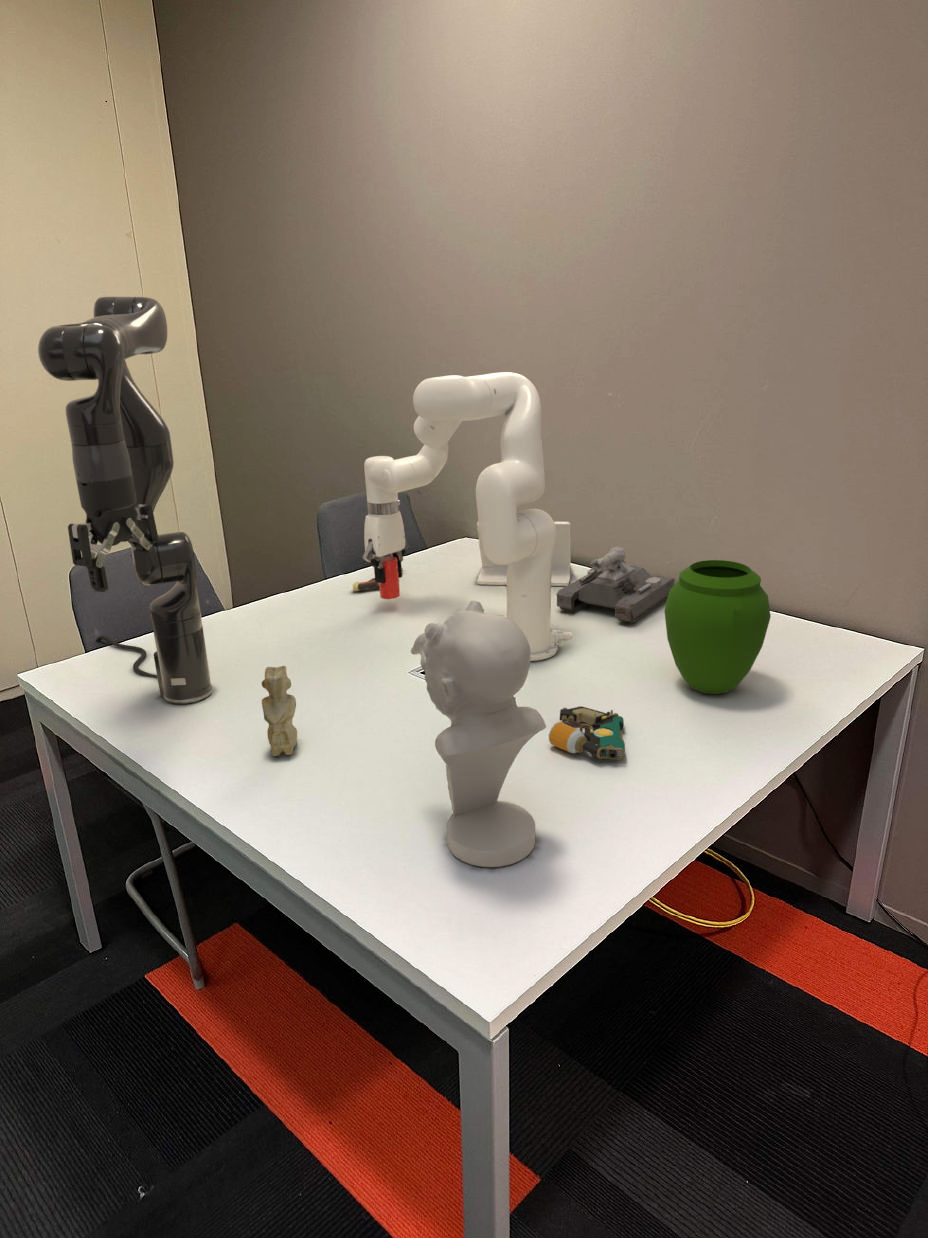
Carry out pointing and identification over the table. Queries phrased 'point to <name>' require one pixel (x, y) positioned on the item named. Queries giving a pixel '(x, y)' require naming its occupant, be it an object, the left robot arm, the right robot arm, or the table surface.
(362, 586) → the toy gun
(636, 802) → the table surface
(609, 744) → the spray gun
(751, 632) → the vase
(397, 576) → the canister
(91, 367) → the left robot arm
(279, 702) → the sculpture
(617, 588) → the toy
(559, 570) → the tablet stand
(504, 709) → the bust sculpture
